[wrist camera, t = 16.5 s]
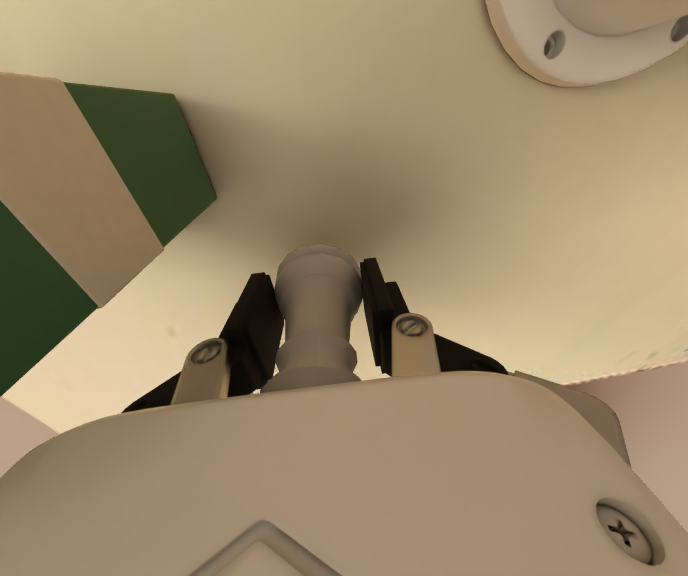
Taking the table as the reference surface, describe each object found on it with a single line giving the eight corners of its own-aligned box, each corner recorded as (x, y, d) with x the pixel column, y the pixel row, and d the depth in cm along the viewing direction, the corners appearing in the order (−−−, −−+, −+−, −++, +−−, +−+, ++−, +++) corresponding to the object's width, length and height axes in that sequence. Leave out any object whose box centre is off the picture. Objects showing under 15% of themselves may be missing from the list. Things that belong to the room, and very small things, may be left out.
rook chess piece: (274, 236, 12) (206, 383, 5) (367, 242, 12) (417, 384, 5) (279, 310, 14) (237, 475, 7) (356, 313, 15) (382, 471, 8)
